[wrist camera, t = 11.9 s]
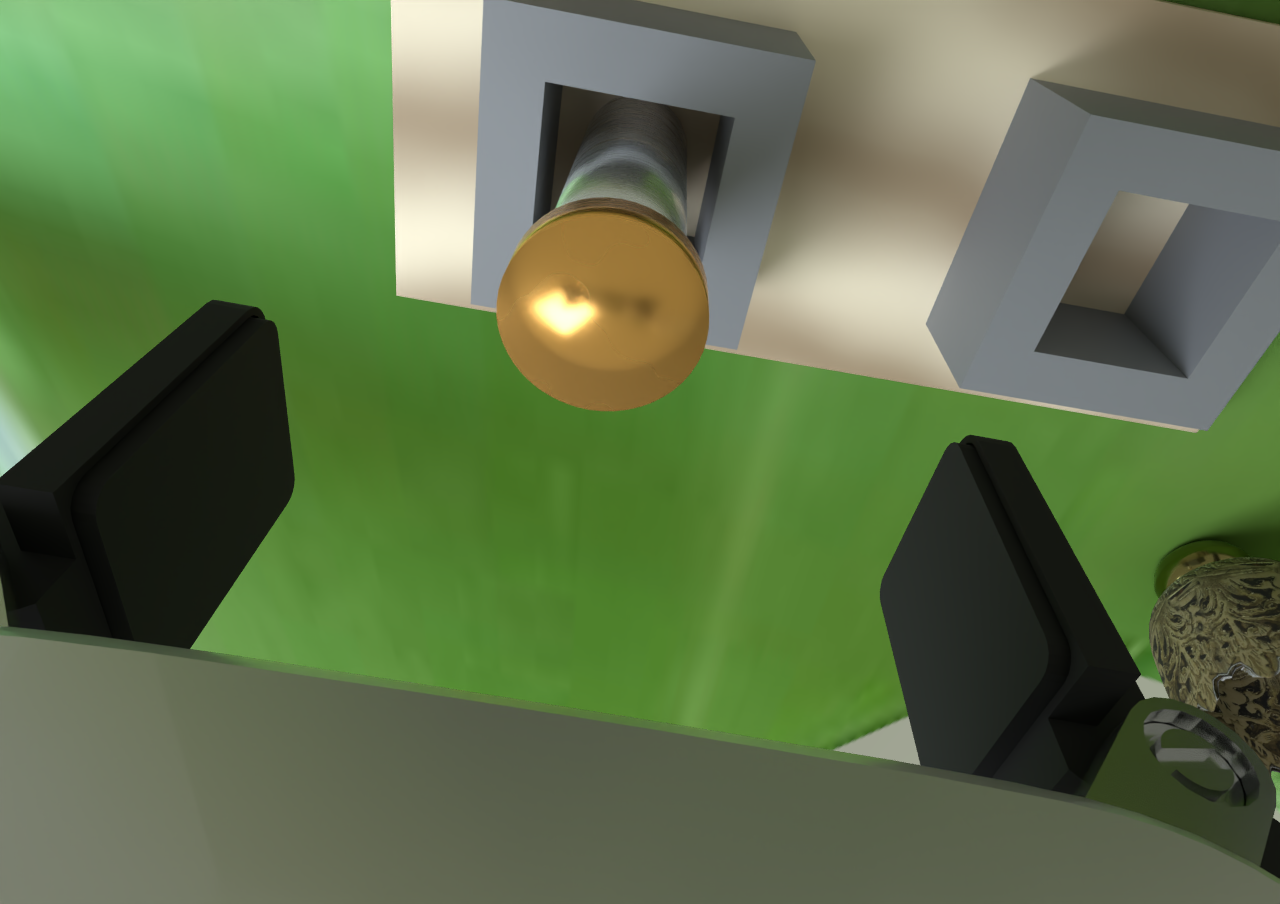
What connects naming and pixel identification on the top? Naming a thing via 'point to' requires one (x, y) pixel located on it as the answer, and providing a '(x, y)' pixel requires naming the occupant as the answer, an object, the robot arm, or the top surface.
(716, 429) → the top surface
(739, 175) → the dock socket
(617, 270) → the pin
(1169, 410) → the lock mount
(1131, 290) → the dock board
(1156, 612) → the cup
